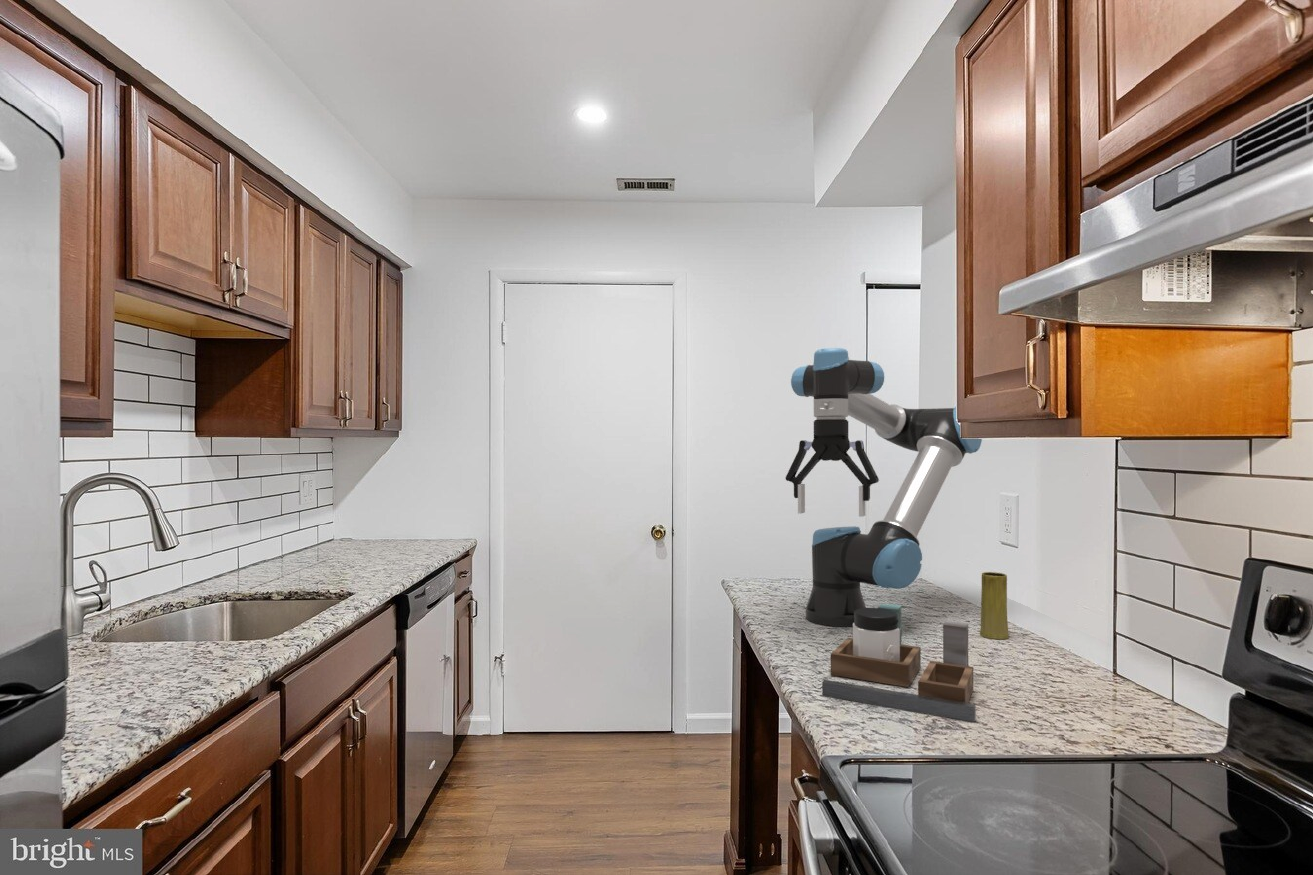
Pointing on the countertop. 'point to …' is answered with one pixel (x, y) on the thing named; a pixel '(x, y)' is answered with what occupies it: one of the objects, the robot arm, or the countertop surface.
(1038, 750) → the countertop surface
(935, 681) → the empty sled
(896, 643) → the jar
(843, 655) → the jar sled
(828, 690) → the end bar
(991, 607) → the vase
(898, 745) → the countertop surface
